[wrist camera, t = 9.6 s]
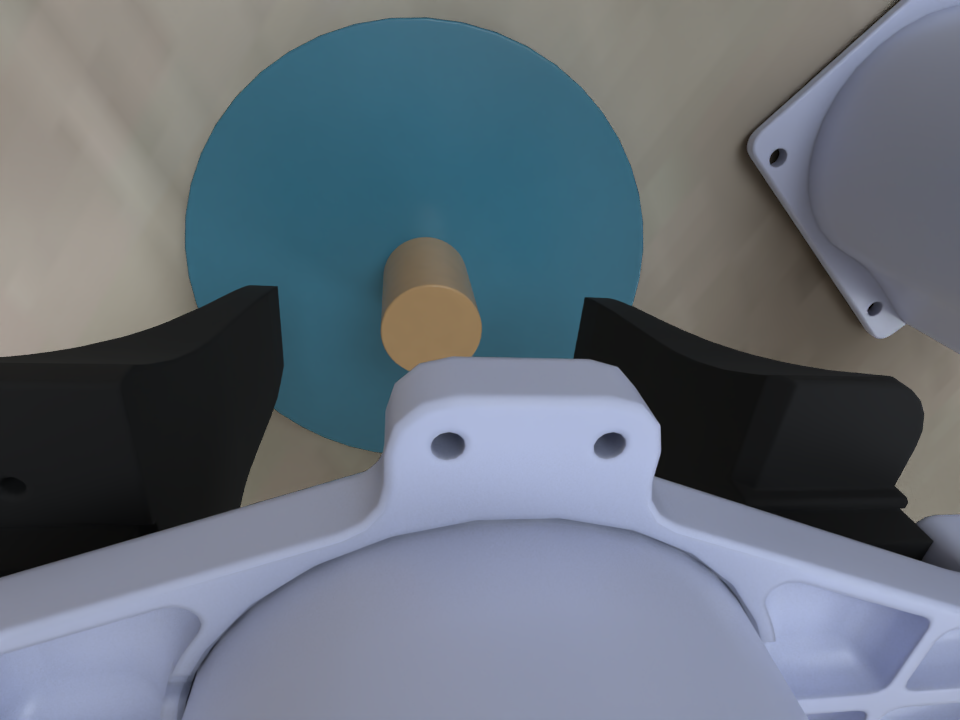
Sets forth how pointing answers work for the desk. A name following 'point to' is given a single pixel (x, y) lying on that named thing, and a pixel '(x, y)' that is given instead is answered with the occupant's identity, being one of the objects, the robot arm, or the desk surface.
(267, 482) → the desk surface
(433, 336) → the lid
